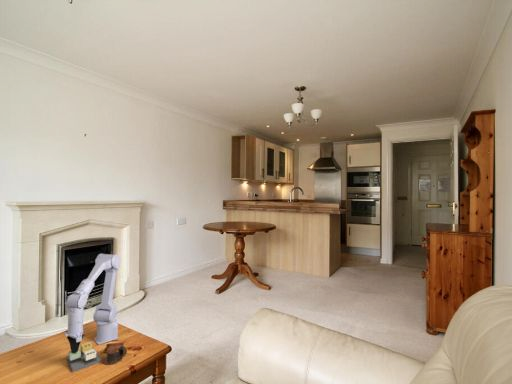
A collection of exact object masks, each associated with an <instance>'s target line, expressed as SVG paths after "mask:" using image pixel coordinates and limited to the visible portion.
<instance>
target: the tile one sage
mask: <svg viewBox="0 0 512 384" xmlns="http://www.w3.org/2000/svg"><path fill="white" fill-rule="evenodd" d="M80 351H81V349H80V348H79V349H78V352H75V353H72V352H71V350H70V351H68V353H67V356H68V358H69V359H70V361H71V360H74V359H77V358H80V357H81V352H80Z"/></svg>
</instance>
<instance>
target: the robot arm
mask: <svg viewBox="0 0 512 384" xmlns="http://www.w3.org/2000/svg"><path fill="white" fill-rule="evenodd" d="M94 263H95V264H94V266H93V267H92V270H91V271H90V273H89V275H88V277H87V278H85V279H83V280H82V281H81V282H80V284H79V285H78V287H77V288H76V289H75V291H74V292H73V293H72V294H70V295H68V296H67V298H66V301H65V302H64V304H65V307H66V311H67V312H68V313H67V314H68V315H67V332H65V333H64V337H66V339H67V341H68V343H69V345H70V351H71V352H72V353H75V352H78V349H79V350H80V346H81V342H82V341H83V339H84V335H83V334H84V311H85V309H84V308H85V306H86V304H87V301H88V298H89V295H90V293H91V292H92V290H93V289H94V287H95V281H96V280H97V279H98V277H99V276H100V275H101V274H102V272H103V271H105V277H104V282H103V283H104V284H103V290H102V294H101V295H102V296H101V301H100V303H99V304H98V305H97V306H96V307H95V310H94V313H93V316H92V317H93V318H92V319H93V321H94V322H95V324H96V337H94V338H93V340H94V342H96V344H97V345H98V346H99V345H102V344H105V343H108V342H111V341H115V340H118V339H119V324H118V323H119V322H118V320H117V315H118V311H117V308H118V307H117V305H116V304H115V303H113V301H114V300H113V299H114V294H115V293H114V292H115V286H116V281H117V275H118V271H119V269H120V263H121V258H120V256H119V255H118V254H116V253H115V254H109V253H108V254H107V253H106V254H105V253H99V254H98V255H97V256H96V258H95V260H94Z"/></svg>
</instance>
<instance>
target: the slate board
mask: <svg viewBox="0 0 512 384" xmlns="http://www.w3.org/2000/svg"><path fill="white" fill-rule="evenodd" d="M92 349H94V350H95V351H96V349H95V348H94V347H92ZM80 352H81V357H80V358H77V359H74V360H71V361H70V359H69V358H68V355H66V356H65V359H66V360H65V361H66V362H67V363H68V365H69V368H70V370H71V372H72V373H74V372H78V371H80V370H82V369H86V368H88V367H91V366H94V365H96V364H99V363H101V362H102V358H101V357H100V355H99V354H98V353H97V351H96V357H95V358H93V359H90V360H87V361H86V360H85V358H84V352H83V353H82V351H81V350H80Z"/></svg>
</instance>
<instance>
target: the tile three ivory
mask: <svg viewBox="0 0 512 384" xmlns="http://www.w3.org/2000/svg"><path fill="white" fill-rule="evenodd" d="M94 349H95V348H94ZM94 349H91V350H88V351H85V352H84V358H85V360H86V361H87V360H90V359H93V358H95V357H96V352H97V351H96V349H95V350H94Z"/></svg>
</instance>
